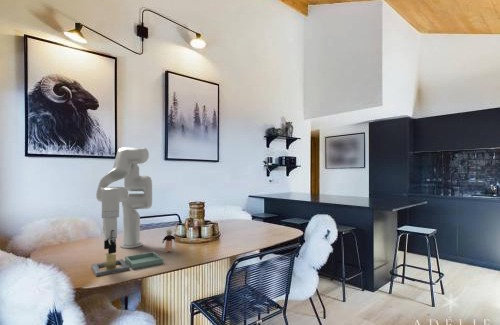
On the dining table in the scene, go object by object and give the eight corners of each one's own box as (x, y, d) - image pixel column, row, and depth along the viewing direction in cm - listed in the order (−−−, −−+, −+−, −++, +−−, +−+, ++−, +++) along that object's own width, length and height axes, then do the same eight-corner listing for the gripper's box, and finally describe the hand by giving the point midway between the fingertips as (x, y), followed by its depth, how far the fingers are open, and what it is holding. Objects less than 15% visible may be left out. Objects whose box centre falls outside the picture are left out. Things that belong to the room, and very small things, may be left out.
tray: (124, 261, 151) (124, 256, 151) (153, 256, 159) (153, 251, 159) (132, 269, 139) (132, 264, 139) (163, 263, 148) (163, 258, 148)
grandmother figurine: (163, 253, 165) (164, 230, 165) (161, 251, 168) (161, 229, 168) (177, 251, 169) (177, 228, 169) (174, 249, 172) (174, 227, 172)
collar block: (91, 267, 142) (91, 264, 142) (122, 262, 150) (122, 259, 150) (96, 276, 130) (96, 273, 130) (129, 269, 138) (129, 266, 138)
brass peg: (104, 268, 140) (104, 253, 141) (113, 266, 143) (114, 252, 143) (106, 270, 137) (106, 255, 137) (115, 269, 140) (115, 254, 140)
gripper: (98, 213, 145) (97, 248, 144) (105, 217, 131) (104, 256, 130) (115, 211, 149) (114, 246, 149) (123, 215, 135) (122, 253, 135)
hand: (109, 250), depth 140 cm, fingers open, 9 cm apart
